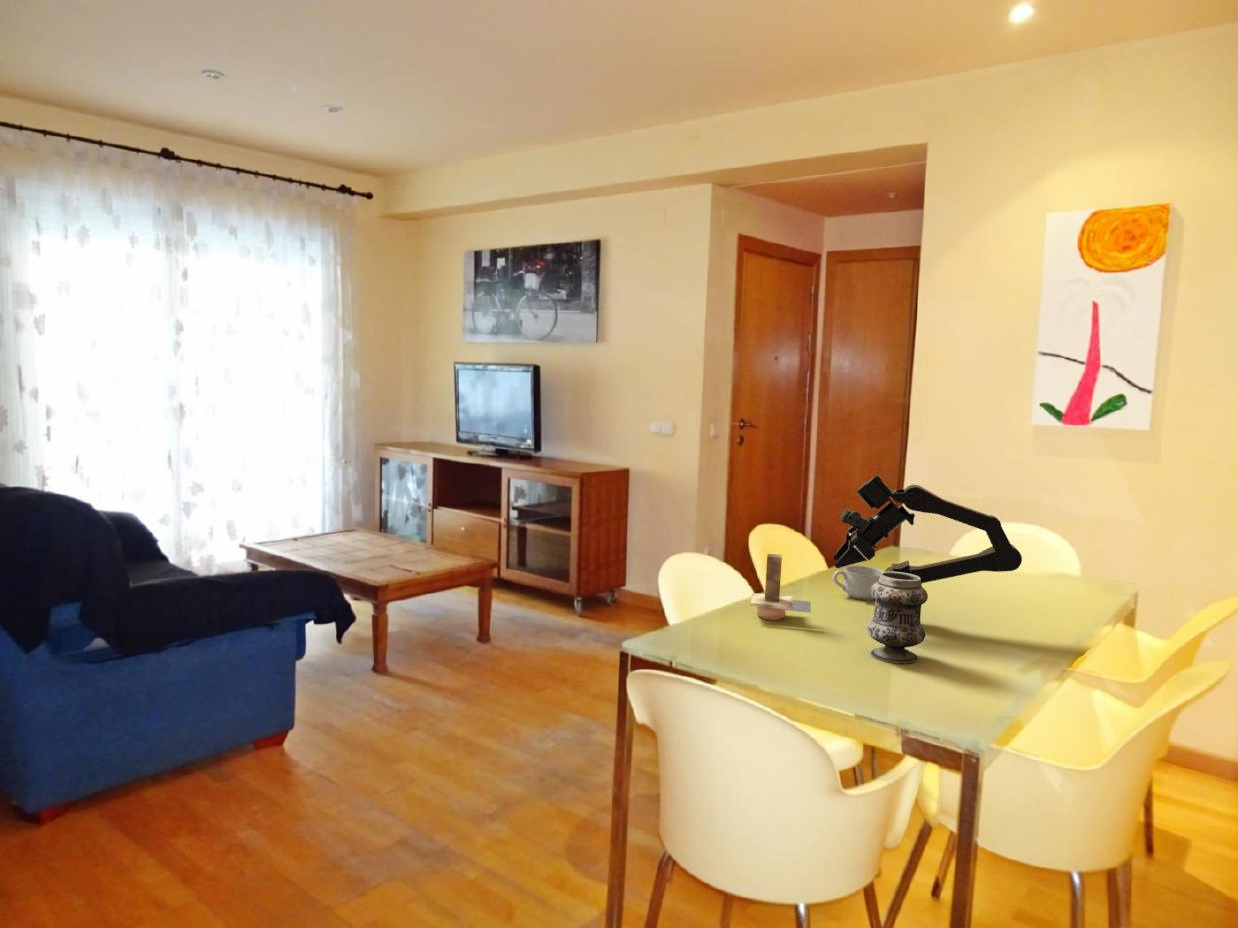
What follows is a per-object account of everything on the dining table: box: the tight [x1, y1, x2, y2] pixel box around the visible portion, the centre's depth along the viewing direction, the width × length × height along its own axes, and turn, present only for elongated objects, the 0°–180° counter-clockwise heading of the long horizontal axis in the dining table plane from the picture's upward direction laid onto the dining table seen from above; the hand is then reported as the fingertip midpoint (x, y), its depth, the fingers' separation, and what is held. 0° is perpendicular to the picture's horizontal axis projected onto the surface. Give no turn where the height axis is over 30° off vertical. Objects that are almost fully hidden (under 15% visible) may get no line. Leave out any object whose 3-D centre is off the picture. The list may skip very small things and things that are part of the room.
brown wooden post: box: [749, 553, 794, 611], centre depth 215 cm, size 10×10×12 cm
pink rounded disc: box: [756, 607, 787, 621], centre depth 216 cm, size 7×7×4 cm
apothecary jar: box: [866, 571, 929, 665], centre depth 189 cm, size 12×12×18 cm
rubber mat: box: [786, 599, 811, 613], centre depth 228 cm, size 11×11×1 cm
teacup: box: [832, 564, 885, 602], centre depth 240 cm, size 14×11×8 cm
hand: (834, 563), depth 219 cm, fingers open, 9 cm apart
